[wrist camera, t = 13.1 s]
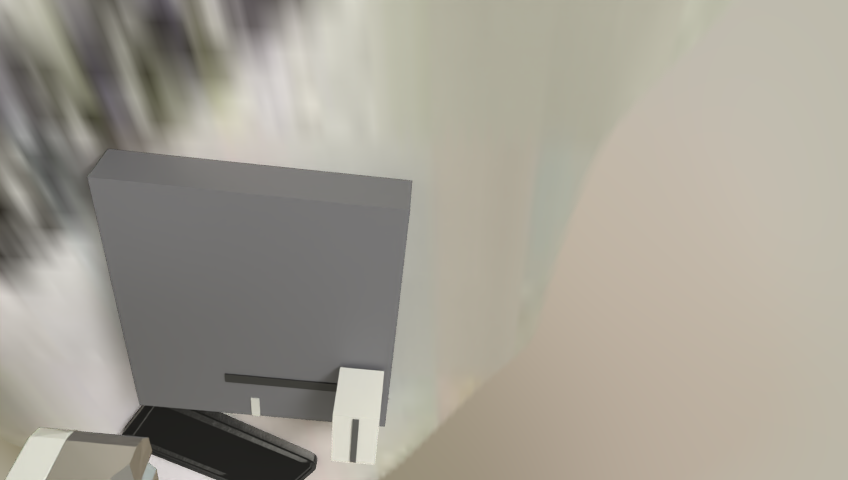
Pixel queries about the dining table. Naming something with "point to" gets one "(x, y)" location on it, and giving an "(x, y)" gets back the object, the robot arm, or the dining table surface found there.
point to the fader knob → (356, 415)
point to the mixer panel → (250, 279)
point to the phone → (219, 445)
